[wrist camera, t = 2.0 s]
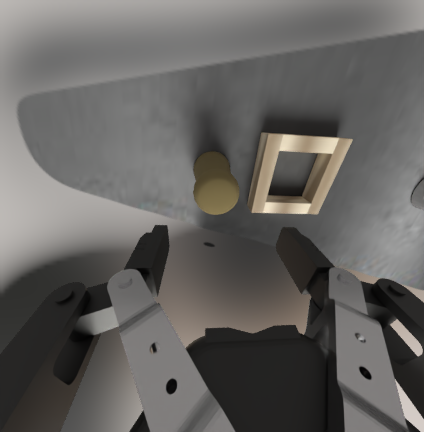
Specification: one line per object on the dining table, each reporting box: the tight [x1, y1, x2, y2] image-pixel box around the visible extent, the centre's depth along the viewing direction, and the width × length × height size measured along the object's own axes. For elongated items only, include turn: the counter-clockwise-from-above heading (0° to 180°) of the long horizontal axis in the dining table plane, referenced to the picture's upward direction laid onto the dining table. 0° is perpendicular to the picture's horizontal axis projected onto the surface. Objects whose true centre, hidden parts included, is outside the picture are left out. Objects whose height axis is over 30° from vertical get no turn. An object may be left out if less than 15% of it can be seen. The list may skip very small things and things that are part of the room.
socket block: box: [247, 132, 353, 214], centre depth 25 cm, size 12×12×3 cm
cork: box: [193, 151, 239, 215], centre depth 21 cm, size 6×6×11 cm
